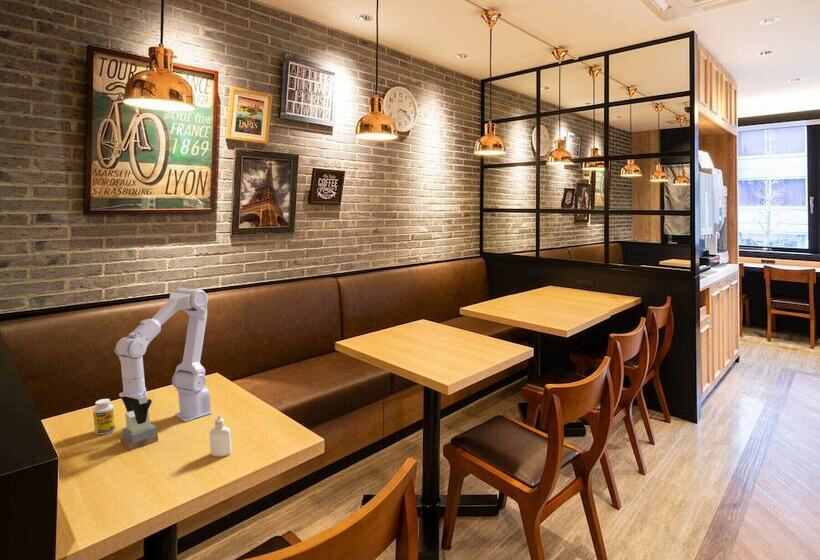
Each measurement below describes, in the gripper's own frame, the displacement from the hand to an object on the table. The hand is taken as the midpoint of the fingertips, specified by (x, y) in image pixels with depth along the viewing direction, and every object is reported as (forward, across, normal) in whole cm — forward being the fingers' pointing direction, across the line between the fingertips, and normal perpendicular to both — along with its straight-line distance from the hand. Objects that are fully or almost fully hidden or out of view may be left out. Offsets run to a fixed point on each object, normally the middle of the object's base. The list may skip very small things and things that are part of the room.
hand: (137, 419), depth 148 cm
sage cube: (+3, 0, 0) cm, 3 cm away
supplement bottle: (+8, -15, -5) cm, 18 cm away
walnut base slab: (+8, 0, 0) cm, 8 cm away
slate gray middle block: (+6, 0, 0) cm, 6 cm away
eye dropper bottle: (+8, +25, +14) cm, 30 cm away
